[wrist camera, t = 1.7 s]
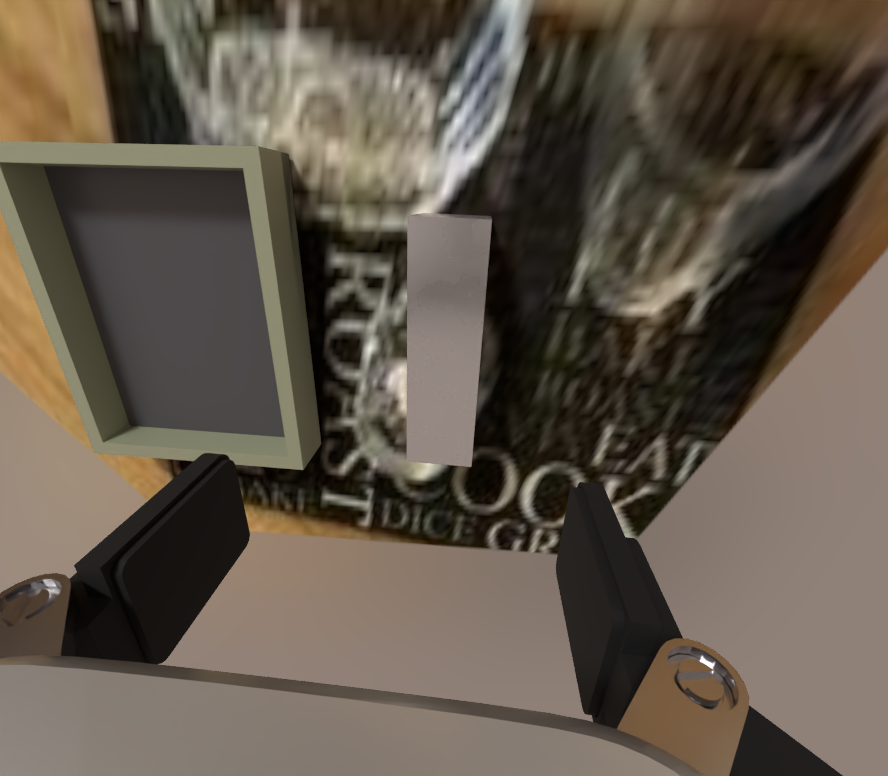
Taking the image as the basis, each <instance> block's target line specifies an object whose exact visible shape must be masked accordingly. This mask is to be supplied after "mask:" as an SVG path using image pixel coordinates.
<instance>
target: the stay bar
mask: <svg viewBox="0 0 888 776" xmlns="http://www.w3.org/2000/svg"><path fill="white" fill-rule="evenodd" d="M491 225H492V218H491V216H476V215H455V214H434V213H422V214H416V215H409V216H408V269H407V461H411V462H422V463H433V464H444V465H455V466H467V467H471V466H472V454H473V442H474V430H475V418H476V406H477V394H478V382H479V370H480V358H481V346H482V334H483V322H484V310H485V298H486V286H487V274H488V261H489V249H490V237H491Z"/></svg>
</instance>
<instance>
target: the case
mask: <svg viewBox="0 0 888 776" xmlns="http://www.w3.org/2000/svg"><path fill="white" fill-rule="evenodd" d="M0 210H1V213H2V215H3V218H4V220H5V223H6V225H7V228H8V231H9V233H10V236H11V238H12V241H13V244H14V246H15V249H16V251H17V254H18V256H19V259H20V262H21V264H22V267H23V269H24V272H25V275H26V277H27V280H28V282H29V285H30V288H31V290H32V293H33V295H34V298H35V300H36V303H37V306H38V308H39V311H40V313H41V316H42V319H43V321H44V324H45V326H46V329H47V331H48V334H49V337H50V339H51V342H52V344H53V347H54V350H55V352H56V355H57V357H58V360H59V363H60V365H61V368H62V370H63V373H64V375H65V378H66V381H67V383H68V386H69V388H70V391H71V394H72V396H73V399H74V401H75V404H76V407H77V409H78V412H79V414H80V417H81V419H82V422H83V425H84V427H85V430H86V432H87V435H88V438H89V440H90V443H91V445H92V448H93V450H94V453H99V454H112V455H124V456H136V457H149V458H161V459H174V460H186V461H195V460H196V459H197V458H198V457H199V456H200V455H202V454H203V453H215V454H225V455H227V456H228V457H229V458H230V460H232V461H233V462H234V463H235V464H236V465H248V466H260V467H273V468H285V469H298V470H304V468H305V467H306V465H307V464H308V462H309V461H310V460H311V458H312V457H313V455H314V454H315V452H316V451H317V449H318V448H319V446H320V445H321V437H320V428H319V419H318V410H317V401H316V393H315V384H314V375H313V366H312V357H311V349H310V340H309V331H308V322H307V313H306V305H305V296H304V287H303V278H302V269H301V261H300V252H299V243H298V234H297V225H296V217H295V208H294V199H293V190H292V181H291V173H290V164H289V155H288V154H286V153H282V152H278V151H274V150H271V149H267V148H263V147H259V146H215V145H165V144H115V143H65V142H15V141H0Z"/></svg>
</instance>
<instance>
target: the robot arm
mask: <svg viewBox="0 0 888 776" xmlns="http://www.w3.org/2000/svg"><path fill="white" fill-rule="evenodd" d="M249 536H250V533H249V528H248V523H247V518H246V514H245V509H244V504H243V500H242V495H241V490H240V486H239V481H238V476H237V472H236V467H235V463H234V462H233V461H232V460H230V458H229V457H228V456H227V455H225V454H215V453H203V454H202V455H200V456H199V457H198V458H197V459H196V460H195V461H193V462H192V463H191V464H190V465H189V466H188V467H187V468H185V469H184V470H183V471H182V472H181V473H180V474H179V475H177V476H176V477H175V478H174V479H173V480H172V481H170V482H169V483H168V484H167V485H166V486H165V487H164V488H162V489H161V490H160V491H159V492H158V493H157V494H156V495H154V496H153V497H152V498H151V499H150V500H149V501H148V502H146V503H145V504H144V505H143V506H142V507H141V508H139V510H137V511H136V512H135V513H134V514H133V515H131V516H130V517H129V518H128V519H127V520H126V521H125V522H123V523H122V524H121V525H120V526H119V527H118V528H116V529H115V530H114V531H113V532H112V533H111V534H110V535H108V537H106V538H105V539H104V540H103V541H102V542H101V543H99V544H98V545H97V546H96V547H95V548H94V549H92V550H91V551H90V552H89V553H88V554H87V555H85V556H84V557H83V558H82V559H81V560H80V561H79V562H77V563H76V564H75V565H74V566H75V568H76V570H77V573H76V574H75V575H74V576H72V577H71V578H70V579H69V578H68V577H67V576H66V575H63V574H58V573H52V574H43V575H39V576H36V577H32V578H30V579H27V580H24V581H22V582H20V583H17V584H15V585H13V586H12V587H10V588H8V589H6V590H4V591H3V592H1V593H0V776H842V775H841V774H840V773H838V772H837V771H836V770H834V769H833V768H832V767H830V766H829V765H828V764H826V763H825V762H824V761H823V760H821V759H820V758H819V757H817V756H816V755H814V754H813V753H812V752H810V751H809V750H808V749H807V748H805V747H804V746H803V745H801V744H800V743H799V742H797V741H796V740H795V739H793V738H792V737H790V736H789V735H788V734H787V733H785V732H784V731H783V730H781V729H780V728H779V727H777V726H776V725H775V724H773V723H772V722H771V721H769V720H768V719H766V718H765V717H764V716H762V715H761V714H760V713H759V712H757V711H756V710H754V709H753V708H752V707H751V706H749V695H748V692H747V689H746V686H745V684H744V682H743V680H742V679H741V677H740V675H739V674H738V672H737V671H736V670H735V669H734V668H733V666H731V664H729V662H728V661H727V660H726V659H725V658H723V657H722V656H721V655H720V654H718V653H717V652H716V651H714V650H713V649H711V648H709V647H708V646H706V645H704V644H702V643H700V642H697V641H693V640H690V639H683V637H682V635H681V633H680V631H679V629H678V626H677V625H676V622H675V620H674V618H673V616H672V613H671V611H670V609H669V607H668V605H667V603H666V600H665V598H664V596H663V594H662V592H661V590H660V587H659V585H658V583H657V581H656V579H655V576H654V574H653V572H652V570H651V568H650V566H649V563H648V561H647V559H646V557H645V555H644V553H643V550H642V548H641V546H640V544H639V543H638V541H637V540H636V539H634V538H626V537H625V536H624V533H623V531H622V529H621V526H620V524H619V522H618V519H617V517H616V515H615V512H614V510H613V508H612V505H611V503H610V500H609V498H608V496H607V493H606V491H605V489H604V487H603V485H602V484H596V483H583V482H580V483H579V484H578V486H577V487H572V488H571V489H570V493H569V498H568V504H567V509H566V514H565V519H564V525H563V530H562V535H561V540H560V546H559V551H558V556H557V563H556V574H557V580H558V585H559V590H560V595H561V600H562V606H563V611H564V616H565V620H566V626H567V631H568V636H569V642H570V647H571V652H572V657H573V662H574V667H575V672H576V678H577V683H578V687H579V693H580V698H581V703H582V708H583V711H584V713H585V714H588V715H592V718H593V722H590V721H587V720H582V719H576V718H571V717H566V716H561V715H556V714H551V713H545V712H537V711H531V710H524V709H517V708H510V707H503V706H496V705H489V704H482V703H475V702H467V701H459V700H451V699H443V698H435V697H427V696H419V695H411V694H403V693H395V692H387V691H379V690H371V689H363V688H355V687H346V686H338V685H330V684H321V683H313V682H305V681H296V680H288V679H279V678H270V677H262V676H253V675H246V674H245V675H244V674H237V673H228V672H219V671H210V670H202V669H192V668H184V667H175V666H166V665H158V664H160V663H162V662H164V661H165V660H166V659H167V658H168V656H169V655H170V654H171V652H172V651H173V650H174V648H175V647H176V645H177V644H178V642H179V641H180V640H181V638H182V637H183V635H184V634H185V633H186V631H187V630H188V628H189V627H190V625H191V624H192V623H193V621H194V620H195V618H196V617H197V615H198V614H199V613H200V611H201V610H202V608H203V607H204V606H205V604H206V603H207V601H208V600H209V598H210V597H211V596H212V594H213V593H214V592H215V590H216V589H217V587H218V586H219V584H220V583H221V582H222V580H223V579H224V577H225V576H226V575H227V573H228V572H229V570H230V569H231V567H232V566H233V565H234V563H235V562H236V560H237V559H238V557H239V556H240V555H241V553H242V552H243V550H244V549H245V548H246V546H247V544H248V541H249Z"/></svg>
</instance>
